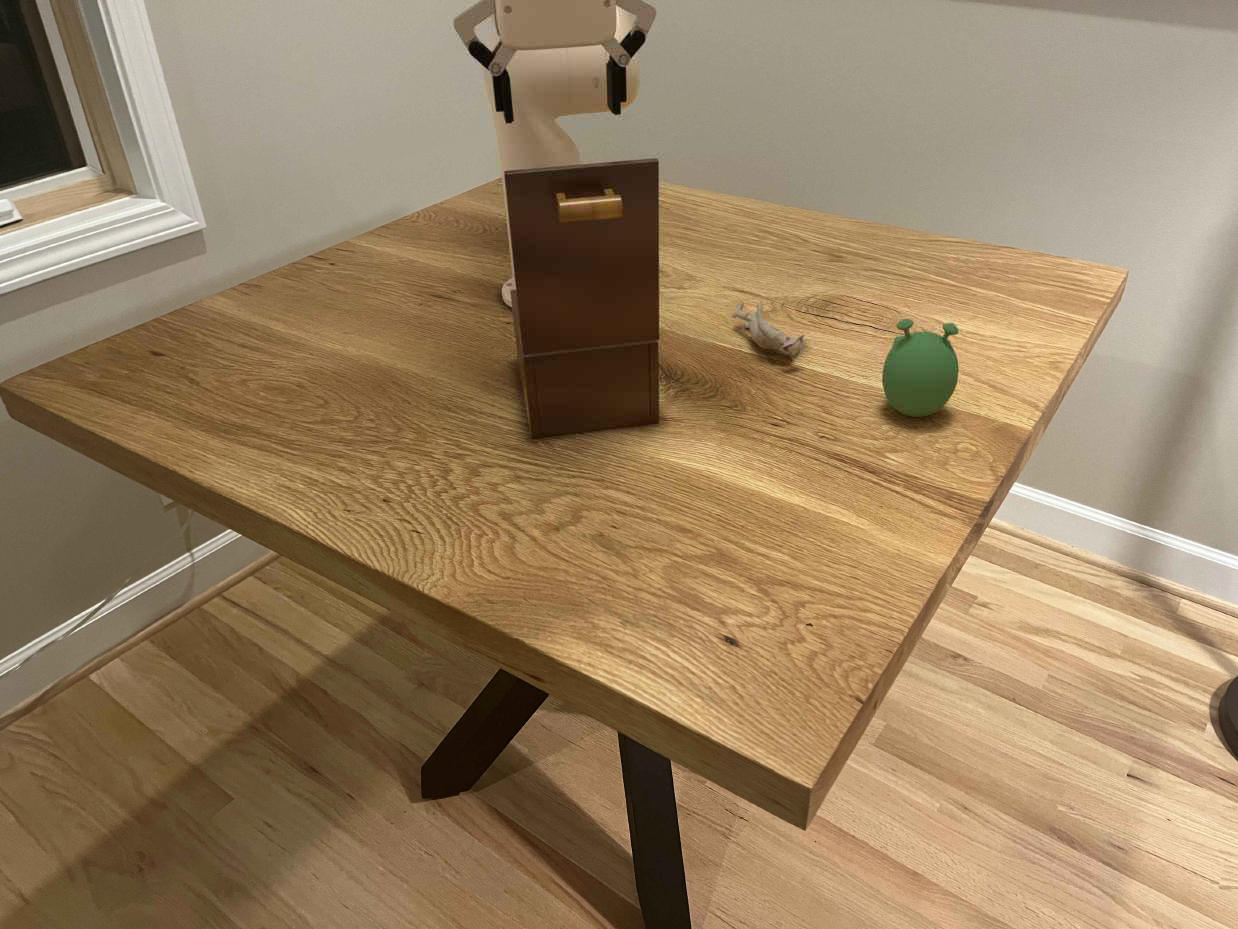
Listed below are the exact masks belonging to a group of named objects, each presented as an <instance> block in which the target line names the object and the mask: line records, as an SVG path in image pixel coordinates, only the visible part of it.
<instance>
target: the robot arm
mask: <svg viewBox="0 0 1238 929" xmlns="http://www.w3.org/2000/svg"><path fill="white" fill-rule="evenodd" d="M630 14H632V15H634V22H633V23H632V19H631V15H630ZM656 17H657V9H656V8H655V7H654V6H653V5H651V4H650V3H648V2H646V1H644V0H479V1H478V2H476V3H475V4H473V5H471V6H470V7H469V8H467V9H466V10H464V11H462V12H461V13H459V14H458V15H456V16H455V18H453V21H452V24H453V28H454V30H455V32H456V33H457V35H458V36H459V38H460V40H461V41H462V43H463V45H464V47H465V48H466V49H467V51H468V53H469V55H470V56H471V57H472V58H474V59H475V61H477V62H478V63H479V64H480V65H481V70H482V74H483V75H482V76H483V80H484V84H485V89H486V94H487V98H488V102H489V106H490V109H491V113H492V119H493V124H494V128H495V134H496V140H497V147H498V155H499V164H500V172H501V181H502V188H503V189H502V190H503V200H504V208H505V209H504V210H505V218H506V228H507V229H506V230H507V237H508V244H509V245H508V248H509V256H510V258H509V259H510V267H511V275H512V277H511V278H509V279H507V281H506V282H505V283H504V284H503V285H502V288H501V296H502V300H503V302H504V303H505V304H506V305H507V306H508V307H510V308H511V309H512V302H511V293H510V290H516V285H515V276H514V266H513V256H512V247H511V237H510V227H509V218H508V208H507V198H506V189H505V179H504V171H510V170H522V169H534V168H545V167H557V166H569V165H581V164H582V161H581V160H582V159H581V155H580V151H579V148H578V146H577V145H576V143H575V142H574V139H572V138H571V136H570V135H569V134H568V133H567V132H566V131H565V130H564V129H563V128H562V127H561V126H560V125H559V124H558V122H556V119H557V118H561V117H566V116H571V115H584V114H595V113H606V112H607V113H608V112H611V114H613V115H614V116H620V115H622V110H624V109H625V108H627V107H629V106H630V105H632V103H633V102H634V101H635V99H636V98H637V95H638V93H639V90H640V82H641V72H640V71H641V70H640V60H639V54H638V51H639V50H640V49H641V48H642V46H644V44H645V43H646V39H647V36H648V34H649V32H650V30H651V28H652V26H653V23H654V21H655V19H656ZM488 18H489V19H490V22H491V23H492V25H493V26H494V28H495V30H496V32H495V33H493V34H492V35H491V36H489V38H488V39H487V40H486V42H485V43H483V42H482V41H481V40H480V38H479V37H478V36H477V34H476V31H475V28H476V27H477V25H479V24H481V23H482V22H484V21H485V20H487V19H488Z"/></svg>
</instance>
